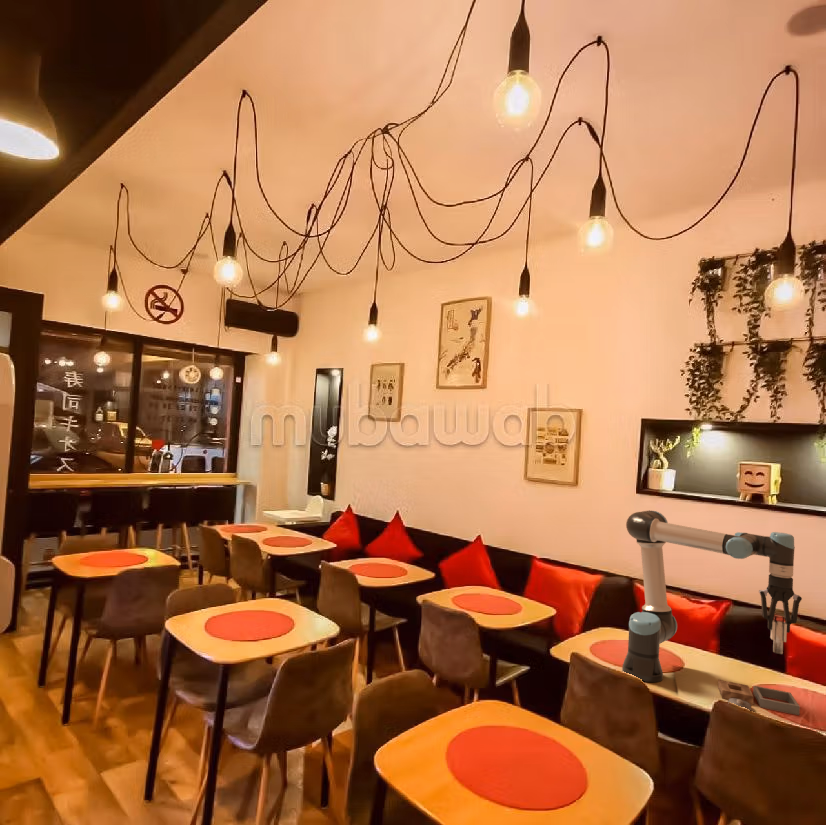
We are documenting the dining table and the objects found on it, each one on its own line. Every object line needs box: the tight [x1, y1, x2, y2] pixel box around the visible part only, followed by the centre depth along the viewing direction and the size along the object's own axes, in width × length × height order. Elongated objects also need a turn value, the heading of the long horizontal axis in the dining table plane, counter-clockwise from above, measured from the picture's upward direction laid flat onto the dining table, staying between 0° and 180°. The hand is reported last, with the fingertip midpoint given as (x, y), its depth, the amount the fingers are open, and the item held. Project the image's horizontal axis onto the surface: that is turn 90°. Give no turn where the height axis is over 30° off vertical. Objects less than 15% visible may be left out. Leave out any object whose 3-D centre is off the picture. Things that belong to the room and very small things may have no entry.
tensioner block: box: [717, 679, 755, 711], centre depth 206 cm, size 10×18×4 cm, turn 159°
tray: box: [752, 685, 801, 716], centre depth 205 cm, size 12×12×4 cm
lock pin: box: [772, 614, 785, 655], centre depth 206 cm, size 3×3×13 cm
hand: (778, 639), depth 206 cm, fingers closed on lock pin, 3 cm apart
